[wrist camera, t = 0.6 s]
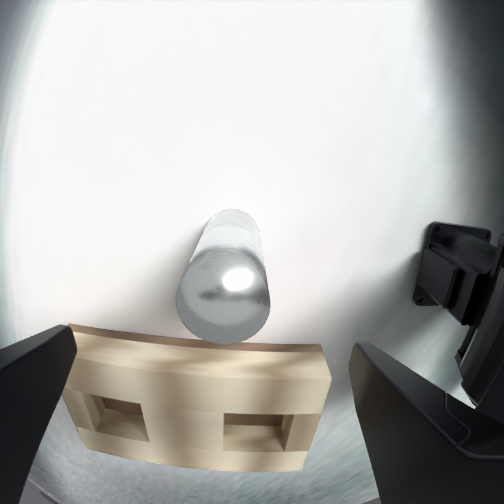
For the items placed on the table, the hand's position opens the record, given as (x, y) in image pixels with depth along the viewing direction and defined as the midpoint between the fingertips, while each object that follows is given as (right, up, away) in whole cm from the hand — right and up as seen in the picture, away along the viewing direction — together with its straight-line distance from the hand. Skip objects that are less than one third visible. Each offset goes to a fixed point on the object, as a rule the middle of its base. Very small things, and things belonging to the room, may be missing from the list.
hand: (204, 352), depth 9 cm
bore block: (-4, -9, +16) cm, 18 cm away
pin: (0, +4, +11) cm, 12 cm away
